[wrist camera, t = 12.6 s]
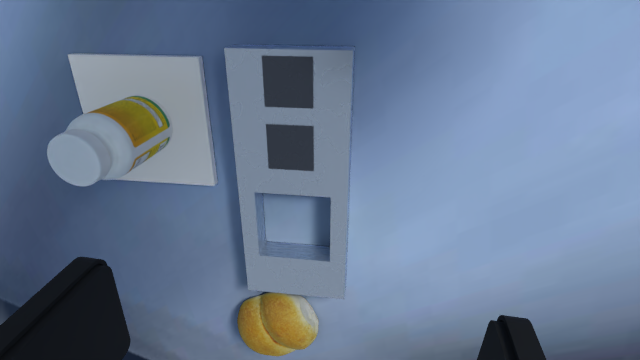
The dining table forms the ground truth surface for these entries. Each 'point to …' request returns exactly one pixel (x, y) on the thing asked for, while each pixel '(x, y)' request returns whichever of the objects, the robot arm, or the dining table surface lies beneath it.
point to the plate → (168, 90)
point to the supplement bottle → (110, 141)
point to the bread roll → (277, 323)
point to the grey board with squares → (292, 156)
